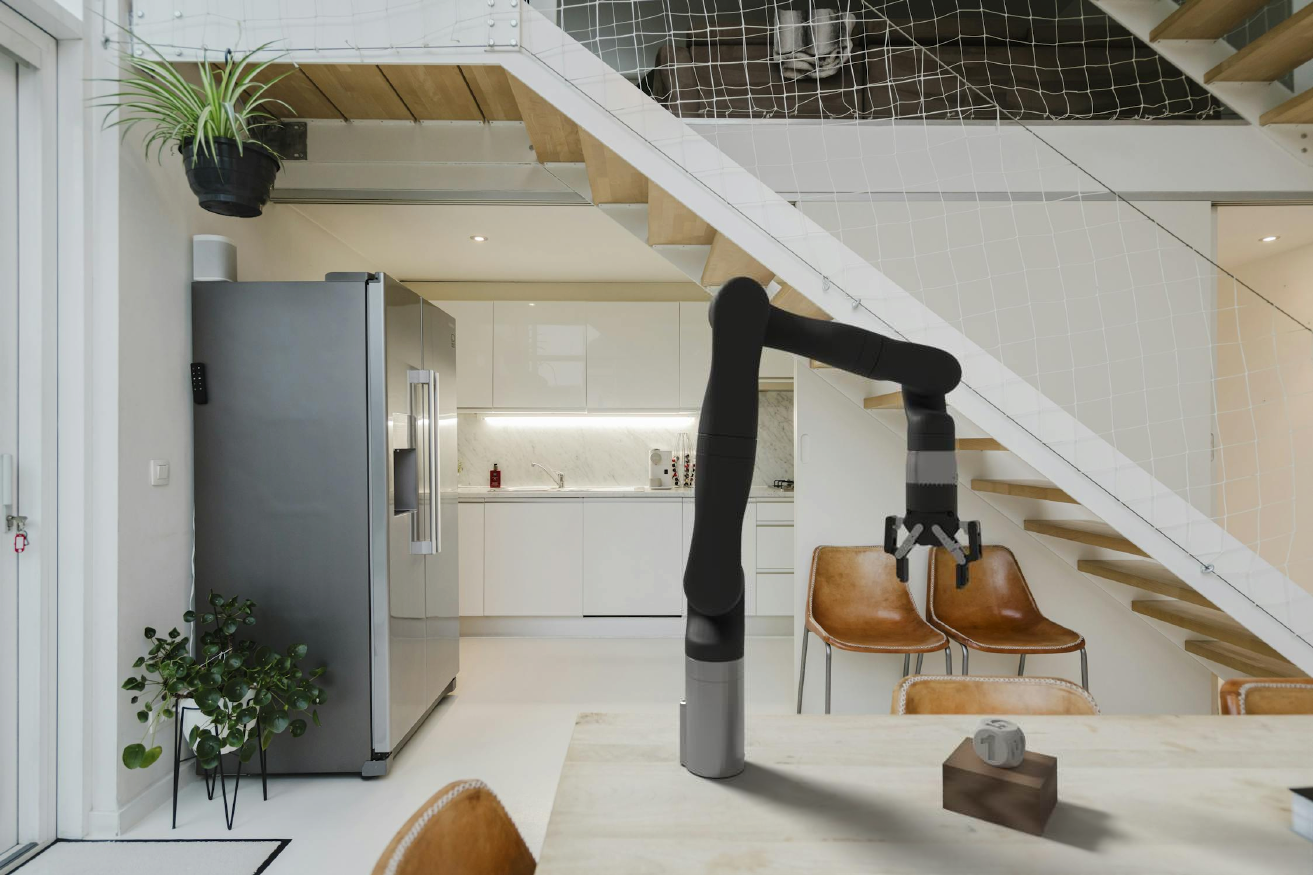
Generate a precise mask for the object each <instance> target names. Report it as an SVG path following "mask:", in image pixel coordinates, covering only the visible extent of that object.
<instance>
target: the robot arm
mask: <svg viewBox="0 0 1313 875" xmlns="http://www.w3.org/2000/svg"><path fill="white" fill-rule="evenodd" d="M708 306H709V307H708V313H707V314H708V316H707V317H708V323H709V325H710V329H711V336H712V337H711V363H710V372H709V375H708V381H707V383H706V389H705V391H704V392H705V393H704V396H703V400H702V401H703V402H702V406H701V411H700V415H699V420H698V422H699V423H698V428H697V436H696V437H697V438H696V439H697V440H696V448H695V463H694V464H695V466H694V467H695V468H694V519H693V520H694V521H693V527H692V528H693V529H692V535H691V536H692V537H691V541H690V546H689V547H690V548H689V552H688V557H687V560H686V561H687V562H686V566H685V570H684V574H683V580H682V587H683V593H684V596H685V597H686V627H685V634H684V635H685V636H684V666H685V667H684V670H685V671H684V677H685V678H684V679H685V680H684V700H682V701H680V703H679V764H681V765H683V766H685V768H686V769H687V770H688V771H690V773H693V774H694V775H698V776H701V777H705V778H713V779H714V778H715V779H717V778H718V779H719V778H729V777H733V776H736V775H738V774H740V773H741V772H742V771H743V770H744V769H745V756H746V754H745V740H746V739H745V736H746V734H745V733H746V732H745V724H746V723H745V718H746V717H745V714H746V713H745V634H746V633H745V632H746V630H745V629H746V621H745V620H746V619H745V618H746V612H745V611H746V608H745V606H746V579H745V578H746V577H745V576H746V575H745V571H744V568H743V565H742V539H743V538H742V535H743V534H742V533H743V523H744V518H745V515H746V510H747V505H748V502H749V498H750V493H751V488H752V483H753V478H754V472H755V465H756V459H757V458H756V456H757V447H758V432H759V429H758V428H759V427H758V426H759V410H760V409H759V408H760V404H759V402H760V400H759V399H760V398H759V397H760V390H759V389H760V388H759V375H760V368H761V367H760V366H761V358H762V353H763V350H764V349H763V348H769V349H774V350H777V351H782V352H786V353H790V354H794V355H797V356H799V357H804V358H807V359H810V360H813V361H815V362H819V363H821V364H824V365H827V366H830V367H832V368H835V369H839V370H841V371H845V372H847V373H851V374H854V375H857V376H860V377H862V378H867V379H870V380H873V381H878V382H883V381H884V382H885V381H886V382H892V383H896V384H900V386H901V388H900V389H901V397H902V402H903V408H904V413H905V414H904V415H905V417H906V421H907V429H906V434H907V435H906V440H907V441H906V450H907V451H906V460H905V515H904V517H902V516H897V515H896V514H893V515H889V516H886V517H885V521H884V535H883V536H884V540H883V552H884V553H885V554H889V555H891V556H893V557H894V558H895V576H896V578H897V579H899V583H903V584H905V583H908V582H909V579H910V572H909V570H910V567H909V565H910V562H909V561H910V560H909V557H908V555H909V554H910V553H911V552H912V550H913V549H914V548H915V547H916V546H917V545H919V547H920V546H921V547H927V546H931V547H934V548H942V547H945V549H946V550H947V551H948V553H950V554H951V555H952V556H953V557H954V560H955V561H956V562H957V563H956V564H955V588H956V590H963V589H966V588H965V587H966V586H967V585H969V583H970V563H974V562H977V561H979V560H981V559H982V558H983V557H984V556H983V543H982V542H983V541H982V528H981V522H980V520H979V519H973V520H960V518H959V514H958V513H959V512H958V510H959V509H958V481H959V473H958V462H957V461H958V460H957V454H956V424H955V420H954V418H953V416H952V415H950V414H949V413H948V410H947V402H946V395H948V394H949V393H951V392H953V391H954V390H955V389H956V388H957V387H958V386H959V384H960V382H961V380H962V376H963V371H962V366H961V364H960V362H959V360H958V359H957V358H956V357H955V356H954V354H951V353H950V352H949V351H947V350H943V349H942V348H938V347H935V346H932V345H931V346H930V345H926V344H922V343H916V342H911V341H906V340H905V341H904V340H899V339H895V338H891V337H889V336H886V335H884V334H881V333H878V332H874V331H871V330H869V329H865V328H862V327H859V326H855V325H853V324H852V325H851V324H848V323H843V322H838V321H832V320H824V319H819V318H814V317H813V318H812V317H808V316H805V315H800V314H796V313H793V312H790V311H787V310H785V309H782V308H780V307H778V306H776V305H774V304H772V303H771V301H770V298H769V296H768V293H767V291H766V289H765V288H764V287H763V285H762V284H760V282H758V281H757V280H755V279H754V278H751V277H748V276H736V277H733V278H730V279H727V280H726V281H724V283H722V284H721V285H719V287H718V288H717V289H716V290H715V292H714V293H713V295H712V297H711V300H710V303H709V305H708ZM902 525H903V527H904V529H906V531H907V532H908V535H907V536H906V537H905V539H904V540H903V542H902V543H901V545H900V546H899V547H898V531H899V530H900V529H902ZM960 529H962V530H963V533H964V535H966V536H968V538H967V539H968V548H969V549H968V551H969V553H967V552H966V550H965V548H964V547H963V545H962V543H961V542H960V541H959V539H958V538H957V536H956V534H957V533H958V532H959V530H960Z"/></svg>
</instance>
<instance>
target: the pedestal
mask: <svg viewBox="0 0 1313 875" xmlns="http://www.w3.org/2000/svg"><path fill="white" fill-rule="evenodd" d="M941 765H942V767H941V768H942V770H941V771H942V772H941V773H942V809H946V810H948V811H951V812H952V811H953V812H955V813H958V814H962V815H965V816H969V817H972V818H975V819H978V820H979V819H980V820H983V821H984V822H985V821H986V822H989V823H993V824H996V825H1000V826H1002V827H1006V828H1010V829H1013V830H1016V831H1019V832H1024V833H1027V834H1030V835H1034V836H1037V837H1041V836H1042V834H1043V832H1044V830H1045V828H1046V825H1047V824H1048V822H1049V819H1050V818H1051V815H1052V814H1053V811H1054V809H1055V807H1056V804H1057V803H1058V801H1059V800H1058V796H1059V795H1058V757H1057V756H1052V755H1048V754H1044V753H1039V752H1035V751H1031V750H1027V749H1025V754H1024V757H1023V759H1022V761H1021V763H1020V764H1019V765H1018V766H1016V767H1013V768H1001V767H996V766H992V765H989V764H987V763H985V762H984V761H982V760H981V759H980V757H979V756H978V755H977V753H976V751H975V749H974V745H973V737H970V736H966V737H965V738H964V740H962V741H961V743H960V744H959V745H958V746H957V747H956V748H955V749H954V750H953V751H952V753H950V754H949V756H948V757H947V758H946V759H945V760H944V761H943V762H942V764H941Z"/></svg>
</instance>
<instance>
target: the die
mask: <svg viewBox="0 0 1313 875" xmlns="http://www.w3.org/2000/svg"><path fill="white" fill-rule="evenodd" d="M972 738H973V745H974V749H975V751H976V753H977V755H978V756H979V757H980V759H981V760H982V761H984V762H985V763H987V764H989V765H992V766H996V767H1001V768H1013V767H1016V766H1018V765H1019V764H1020V763H1021V761H1022V759H1023V757H1024V754H1025V750H1026V745H1027V744H1026V743H1027V741H1026V737H1025V734H1024V731H1023V730H1022V729H1021V728H1020V727H1019V725H1018V724H1017V723H1015V722H1013V721H1011V720H1007V719H1004V718H998V717H985V718H982V719H980V720H979V721H978V722H977V724H976V726H975V728H974V730H973V736H972Z"/></svg>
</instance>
